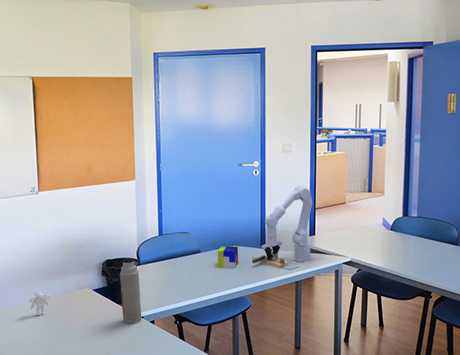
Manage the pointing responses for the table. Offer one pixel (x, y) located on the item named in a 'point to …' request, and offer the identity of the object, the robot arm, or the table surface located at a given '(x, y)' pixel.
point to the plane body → (275, 262)
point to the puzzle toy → (227, 257)
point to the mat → (290, 267)
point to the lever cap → (274, 256)
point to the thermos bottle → (130, 292)
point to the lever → (258, 259)
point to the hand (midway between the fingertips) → (272, 258)
